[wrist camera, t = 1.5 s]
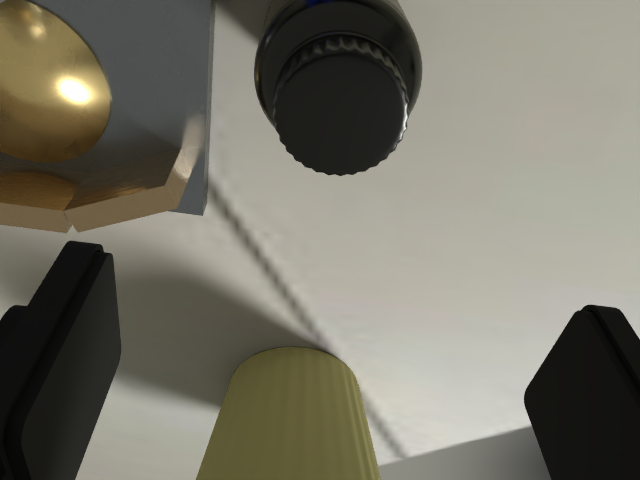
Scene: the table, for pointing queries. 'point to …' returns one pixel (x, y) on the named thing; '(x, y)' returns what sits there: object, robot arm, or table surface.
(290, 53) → the supplement bottle
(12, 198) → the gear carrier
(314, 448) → the potted cactus
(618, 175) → the table surface
